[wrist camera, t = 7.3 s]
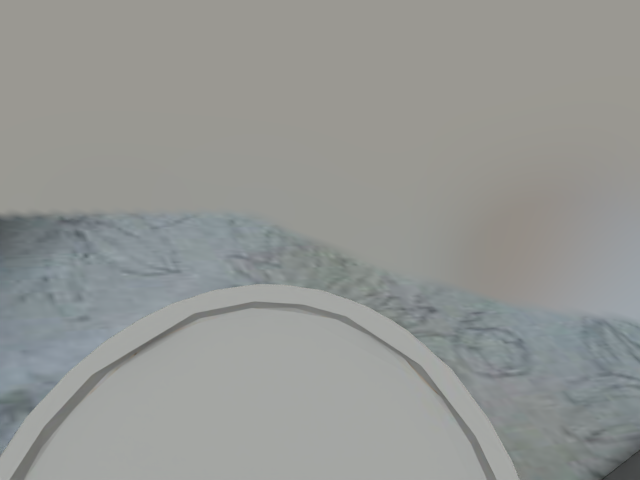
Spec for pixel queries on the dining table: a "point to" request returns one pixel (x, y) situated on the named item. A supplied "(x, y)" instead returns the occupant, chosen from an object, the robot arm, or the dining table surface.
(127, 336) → the disposable coffee cup
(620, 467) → the kitchen scale
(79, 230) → the dining table surface
